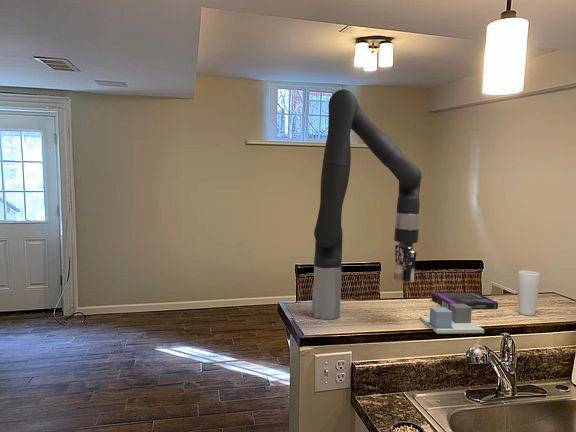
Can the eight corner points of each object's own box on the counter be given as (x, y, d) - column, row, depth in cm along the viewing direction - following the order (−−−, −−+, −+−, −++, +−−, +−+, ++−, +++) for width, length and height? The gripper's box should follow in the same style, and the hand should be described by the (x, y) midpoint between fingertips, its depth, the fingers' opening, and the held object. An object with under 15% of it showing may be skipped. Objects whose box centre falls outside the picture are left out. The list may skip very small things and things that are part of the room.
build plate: (437, 333, 136) (437, 314, 136) (419, 319, 150) (420, 301, 150) (484, 332, 138) (485, 313, 137) (462, 318, 152) (463, 301, 151)
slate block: (436, 327, 138) (436, 312, 138) (429, 322, 143) (430, 307, 143) (451, 327, 139) (452, 311, 138) (444, 322, 144) (445, 307, 143)
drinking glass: (536, 312, 160) (539, 271, 159) (538, 317, 154) (540, 275, 153) (515, 310, 163) (517, 269, 162) (516, 315, 157) (518, 273, 156)
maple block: (398, 282, 143) (399, 266, 143) (393, 278, 148) (394, 263, 148) (413, 282, 143) (414, 267, 143) (408, 278, 148) (409, 264, 148)
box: (447, 312, 162) (498, 310, 164) (448, 303, 162) (498, 301, 164) (431, 301, 176) (478, 299, 178) (431, 292, 175) (478, 291, 178)
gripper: (388, 224, 151) (385, 274, 152) (402, 229, 137) (399, 284, 138) (410, 225, 152) (407, 274, 153) (426, 230, 137) (423, 284, 139)
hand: (403, 278), depth 146 cm, fingers closed on maple block, 5 cm apart
